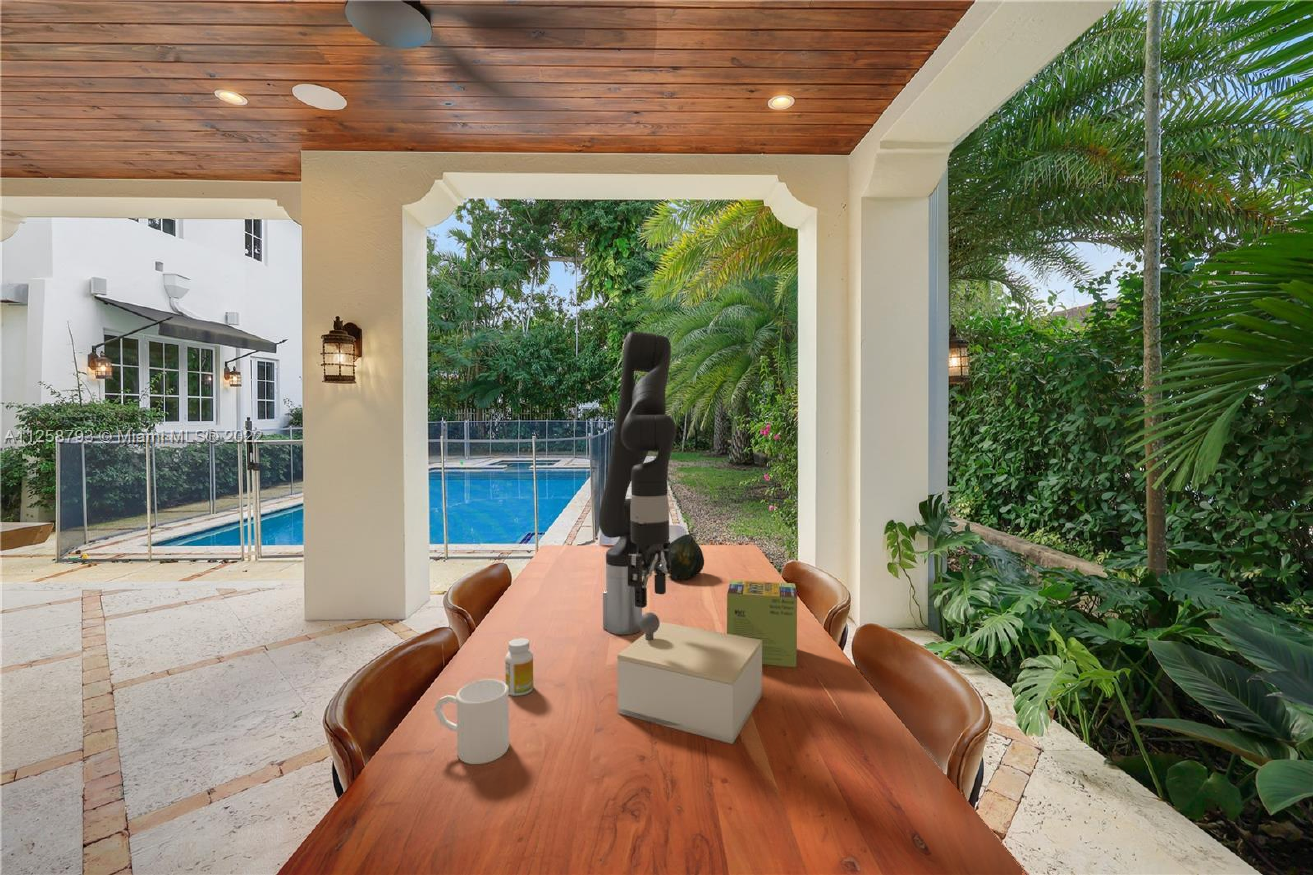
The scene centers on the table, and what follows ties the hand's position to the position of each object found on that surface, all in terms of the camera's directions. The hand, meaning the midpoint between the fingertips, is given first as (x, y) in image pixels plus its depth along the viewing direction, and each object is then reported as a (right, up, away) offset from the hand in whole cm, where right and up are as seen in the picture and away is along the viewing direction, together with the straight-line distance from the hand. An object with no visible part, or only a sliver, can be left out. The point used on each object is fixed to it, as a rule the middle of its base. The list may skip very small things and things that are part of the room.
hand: (650, 600), depth 108 cm
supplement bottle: (-26, -19, +2) cm, 32 cm away
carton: (+8, -19, -3) cm, 21 cm away
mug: (-29, -20, -17) cm, 39 cm away
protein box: (+25, -18, +18) cm, 36 cm away
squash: (+10, -16, +80) cm, 82 cm away
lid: (+8, -9, -4) cm, 12 cm away
